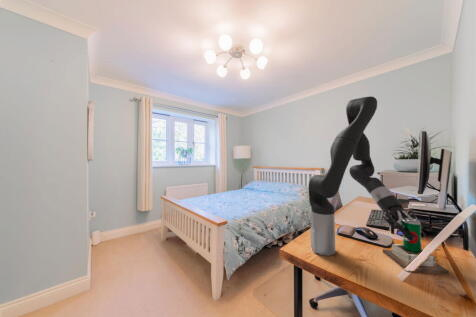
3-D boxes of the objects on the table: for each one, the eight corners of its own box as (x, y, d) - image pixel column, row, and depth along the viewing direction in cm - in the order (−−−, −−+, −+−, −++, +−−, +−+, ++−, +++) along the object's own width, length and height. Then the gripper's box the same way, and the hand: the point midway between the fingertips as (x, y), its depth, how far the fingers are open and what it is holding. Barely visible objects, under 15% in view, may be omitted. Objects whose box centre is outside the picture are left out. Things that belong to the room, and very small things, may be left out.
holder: (406, 271, 63) (406, 258, 63) (382, 252, 76) (382, 241, 76) (449, 274, 61) (449, 260, 61) (417, 254, 74) (417, 242, 74)
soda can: (425, 254, 66) (424, 222, 65) (409, 253, 67) (408, 221, 67) (414, 247, 71) (414, 217, 70) (400, 246, 72) (399, 217, 71)
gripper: (377, 195, 74) (410, 236, 63) (404, 193, 77) (441, 232, 65) (366, 204, 80) (395, 244, 68) (392, 202, 82) (424, 239, 71)
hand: (417, 237), depth 67 cm, fingers closed on soda can, 5 cm apart
